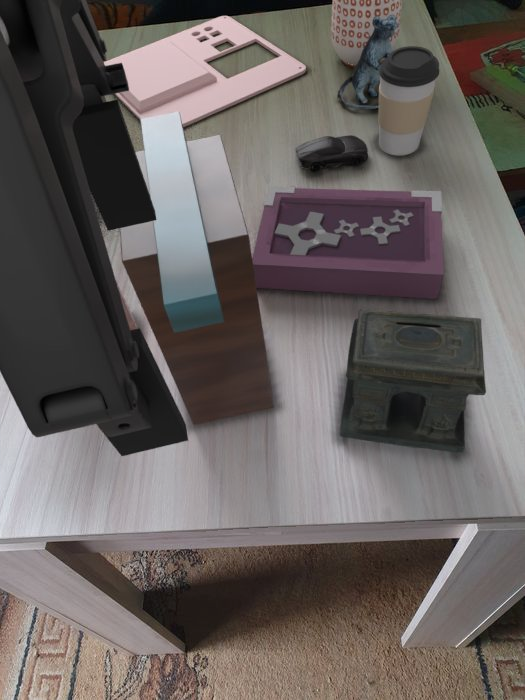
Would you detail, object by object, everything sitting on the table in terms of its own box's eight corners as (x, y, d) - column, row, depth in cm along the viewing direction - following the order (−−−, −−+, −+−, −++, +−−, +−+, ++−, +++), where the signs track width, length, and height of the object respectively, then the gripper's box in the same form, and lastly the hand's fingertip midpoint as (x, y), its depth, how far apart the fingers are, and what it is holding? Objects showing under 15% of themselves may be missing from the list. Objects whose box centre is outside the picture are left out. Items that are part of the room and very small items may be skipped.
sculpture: (363, 122, 95) (370, 35, 83) (329, 97, 101) (331, 11, 89) (400, 106, 97) (412, 18, 85) (365, 82, 103) (371, -4, 91)
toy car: (370, 164, 88) (372, 144, 85) (300, 176, 88) (299, 156, 85) (361, 145, 92) (363, 124, 88) (294, 156, 91) (293, 136, 88)
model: (460, 385, 63) (493, 305, 51) (463, 455, 58) (502, 386, 46) (344, 375, 65) (350, 296, 53) (338, 441, 60) (343, 372, 48)
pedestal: (274, 407, 64) (248, 234, 41) (193, 425, 63) (121, 261, 40) (252, 319, 72) (220, 134, 49) (180, 335, 71) (114, 155, 48)
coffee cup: (361, 145, 92) (368, 57, 79) (395, 122, 94) (406, 33, 82) (403, 166, 87) (416, 76, 75) (436, 141, 90) (455, 51, 78)
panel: (158, 138, 98) (154, 127, 96) (91, 70, 116) (87, 59, 114) (309, 71, 107) (309, 59, 105) (226, 17, 124) (224, 6, 122)
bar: (224, 322, 36) (217, 293, 34) (174, 333, 36) (163, 305, 33) (186, 141, 49) (179, 110, 46) (149, 148, 48) (140, 118, 46)
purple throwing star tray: (435, 218, 80) (441, 191, 76) (437, 299, 71) (445, 274, 67) (270, 211, 84) (268, 186, 80) (253, 288, 75) (249, 263, 71)
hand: (141, 314), depth 25 cm, fingers open, 13 cm apart
